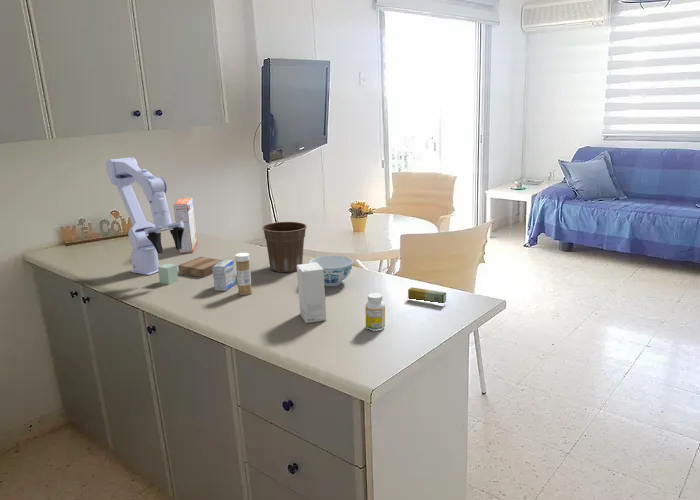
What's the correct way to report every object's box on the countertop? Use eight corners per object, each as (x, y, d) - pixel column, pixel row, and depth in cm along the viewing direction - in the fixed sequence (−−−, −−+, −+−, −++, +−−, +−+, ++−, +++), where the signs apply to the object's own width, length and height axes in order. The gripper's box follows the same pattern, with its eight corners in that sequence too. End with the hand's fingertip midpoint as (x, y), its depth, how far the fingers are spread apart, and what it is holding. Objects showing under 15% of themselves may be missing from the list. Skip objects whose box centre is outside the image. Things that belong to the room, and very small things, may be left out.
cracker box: (183, 244, 248) (178, 197, 243) (197, 244, 249) (193, 197, 243) (178, 253, 235) (172, 204, 229) (192, 252, 235) (187, 203, 230)
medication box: (446, 304, 174) (447, 292, 173) (443, 307, 172) (444, 294, 171) (410, 298, 180) (411, 286, 179) (407, 301, 178) (407, 288, 177)
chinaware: (360, 279, 199) (360, 257, 197) (341, 292, 186) (341, 270, 184) (322, 274, 205) (321, 253, 203) (302, 287, 192) (300, 265, 190)
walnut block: (179, 273, 209) (178, 265, 209) (201, 264, 220) (200, 256, 219) (203, 277, 204) (203, 269, 203) (225, 268, 214) (225, 260, 213)
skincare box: (326, 321, 163) (324, 269, 159) (304, 324, 161) (301, 272, 157) (319, 310, 171) (317, 261, 167) (298, 313, 169) (295, 263, 165)
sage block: (159, 283, 199) (157, 266, 197) (169, 279, 203) (167, 263, 201) (169, 284, 197) (167, 268, 195) (178, 280, 201) (176, 264, 199)
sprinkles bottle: (249, 290, 190) (246, 251, 186) (253, 294, 186) (250, 254, 182) (236, 292, 188) (233, 253, 184) (240, 296, 184) (236, 256, 180)
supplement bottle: (377, 333, 154) (376, 300, 152) (361, 328, 158) (361, 296, 155) (388, 327, 158) (388, 294, 156) (373, 322, 161) (373, 290, 159)
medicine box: (226, 291, 189) (224, 266, 187) (214, 290, 190) (212, 266, 188) (235, 283, 197) (234, 259, 194) (223, 283, 197) (221, 259, 195)
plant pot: (302, 259, 223) (300, 219, 218) (313, 271, 208) (311, 228, 204) (261, 264, 218) (258, 223, 214) (269, 276, 203) (266, 233, 199)
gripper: (135, 217, 194) (145, 256, 195) (172, 209, 190) (181, 249, 191) (148, 216, 201) (157, 253, 202) (183, 208, 196) (192, 246, 198)
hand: (169, 251), depth 197 cm, fingers open, 7 cm apart
